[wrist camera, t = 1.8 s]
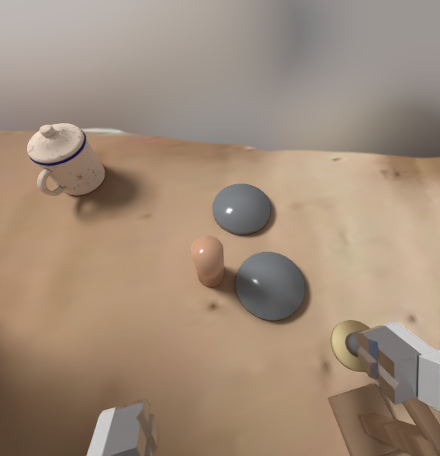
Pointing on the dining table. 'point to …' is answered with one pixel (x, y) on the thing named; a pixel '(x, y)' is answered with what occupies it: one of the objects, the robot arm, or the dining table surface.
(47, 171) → the teacup with lid
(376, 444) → the balance
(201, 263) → the peach shift knob
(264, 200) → the dish
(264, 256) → the dish
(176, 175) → the dining table surface
